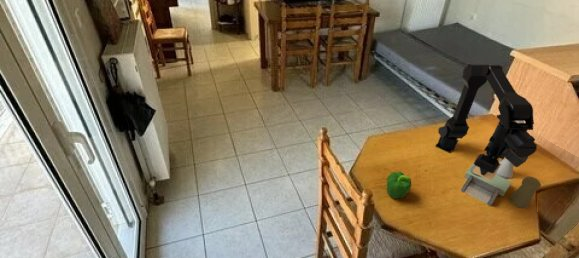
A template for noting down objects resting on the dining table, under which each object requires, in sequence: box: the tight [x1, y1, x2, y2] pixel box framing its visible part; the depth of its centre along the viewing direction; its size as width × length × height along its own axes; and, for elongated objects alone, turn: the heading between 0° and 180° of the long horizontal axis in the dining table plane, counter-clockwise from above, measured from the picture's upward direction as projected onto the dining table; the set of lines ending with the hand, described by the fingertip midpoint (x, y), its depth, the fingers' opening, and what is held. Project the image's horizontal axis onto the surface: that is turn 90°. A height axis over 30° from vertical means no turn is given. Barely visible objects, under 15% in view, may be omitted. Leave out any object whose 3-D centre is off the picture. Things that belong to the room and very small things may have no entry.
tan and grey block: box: [473, 164, 501, 181], centre depth 109 cm, size 6×4×6 cm
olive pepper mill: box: [509, 176, 542, 209], centre depth 110 cm, size 6×6×11 cm
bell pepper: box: [386, 171, 412, 199], centre depth 114 cm, size 8×8×10 cm
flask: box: [496, 157, 514, 179], centre depth 122 cm, size 7×7×10 cm
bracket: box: [460, 175, 500, 207], centre depth 116 cm, size 10×8×2 cm
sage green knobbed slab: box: [463, 163, 512, 197], centre depth 120 cm, size 14×7×4 cm, turn 46°
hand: (485, 171), depth 110 cm, fingers closed on tan and grey block, 4 cm apart
